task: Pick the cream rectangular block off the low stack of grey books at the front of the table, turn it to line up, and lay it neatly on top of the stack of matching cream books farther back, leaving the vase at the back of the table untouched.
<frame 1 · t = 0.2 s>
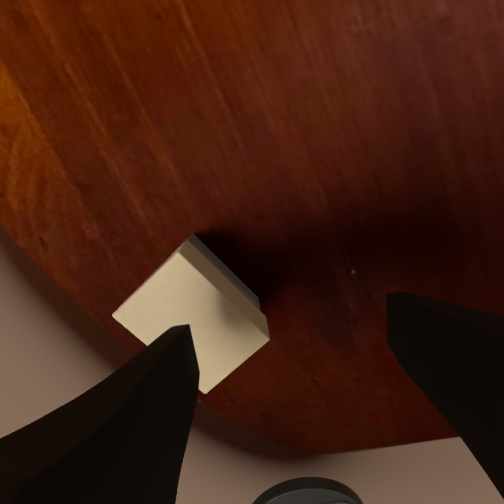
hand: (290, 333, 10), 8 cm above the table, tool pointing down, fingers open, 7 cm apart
cream rectangular block: (199, 306, 15), point 3 cm above the table, touching grey books
grey books: (206, 286, 18), on the table
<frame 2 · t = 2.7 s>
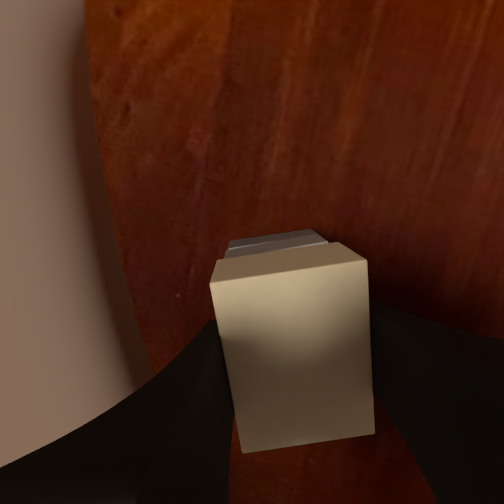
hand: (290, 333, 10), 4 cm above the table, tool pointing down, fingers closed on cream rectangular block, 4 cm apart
cream rectangular block: (287, 325, 11), point 3 cm above the table, touching grey books, gripper
grey books: (278, 294, 14), on the table
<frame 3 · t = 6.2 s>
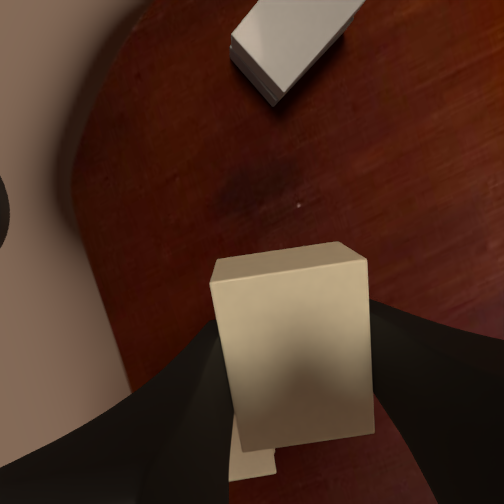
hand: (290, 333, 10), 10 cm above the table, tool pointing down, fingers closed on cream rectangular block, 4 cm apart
cream rectangular block: (287, 325, 11), point 10 cm above the table, touching gripper
cream books: (241, 412, 24), on the table
grey books: (286, 44, 17), on the table
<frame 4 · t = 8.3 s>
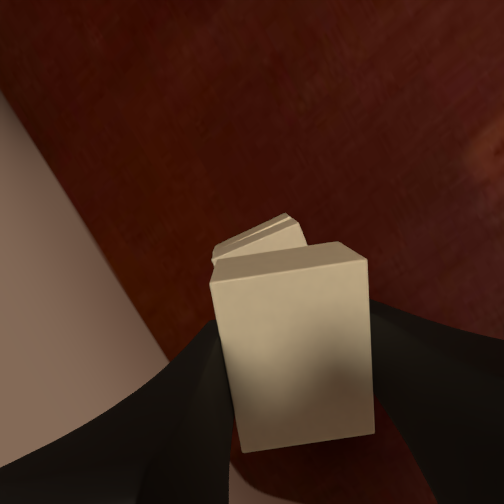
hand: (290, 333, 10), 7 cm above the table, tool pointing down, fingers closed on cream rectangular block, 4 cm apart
cream rectangular block: (287, 325, 11), point 6 cm above the table, touching gripper
cream books: (271, 275, 17), on the table
when the fingers open (4 cm above the table, at t = 9.6 s): cream rectangular block stays where it is, resting on cream books.
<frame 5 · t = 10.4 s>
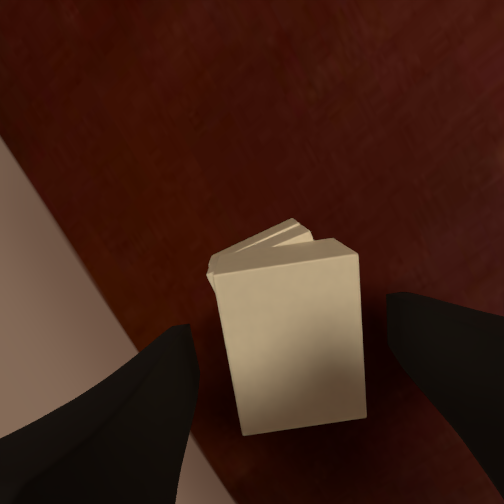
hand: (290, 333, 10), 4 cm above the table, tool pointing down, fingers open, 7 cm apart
cream rectangular block: (284, 317, 11), point 3 cm above the table, touching cream books
cream books: (276, 288, 15), on the table
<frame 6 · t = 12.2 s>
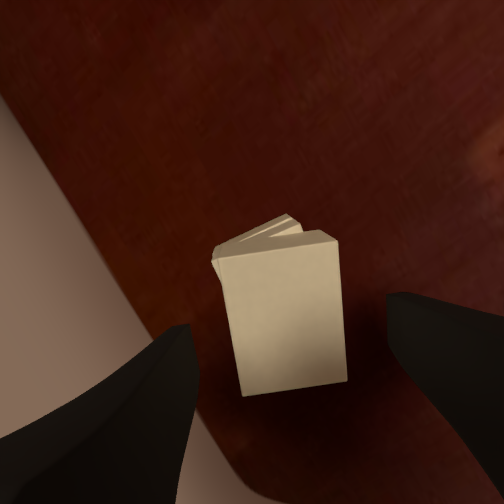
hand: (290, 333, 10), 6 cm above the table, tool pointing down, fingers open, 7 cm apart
cream rectangular block: (278, 299, 13), point 3 cm above the table, touching cream books
cream books: (272, 276, 16), on the table
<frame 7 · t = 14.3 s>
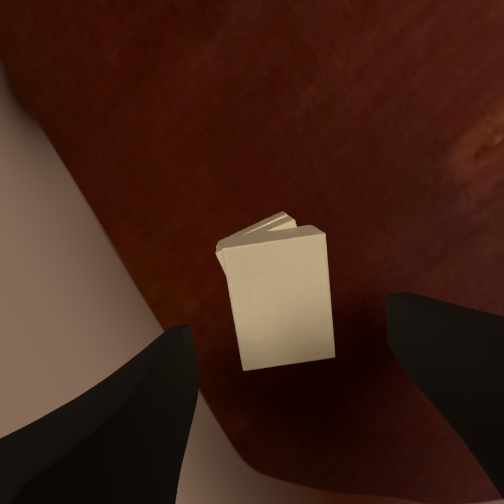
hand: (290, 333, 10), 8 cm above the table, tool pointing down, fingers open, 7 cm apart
cream rectangular block: (275, 286, 15), point 3 cm above the table, touching cream books
cream books: (270, 268, 18), on the table
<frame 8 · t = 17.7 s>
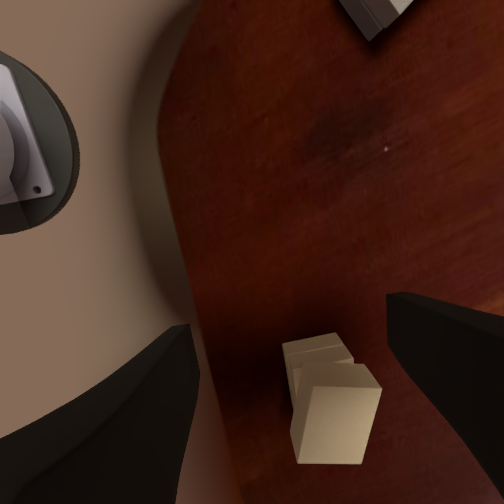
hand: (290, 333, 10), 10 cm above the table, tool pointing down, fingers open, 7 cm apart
cream rectangular block: (325, 398, 20), point 3 cm above the table, touching cream books
cream books: (313, 369, 23), on the table
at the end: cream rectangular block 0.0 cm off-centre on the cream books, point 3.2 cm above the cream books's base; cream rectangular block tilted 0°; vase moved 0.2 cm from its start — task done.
